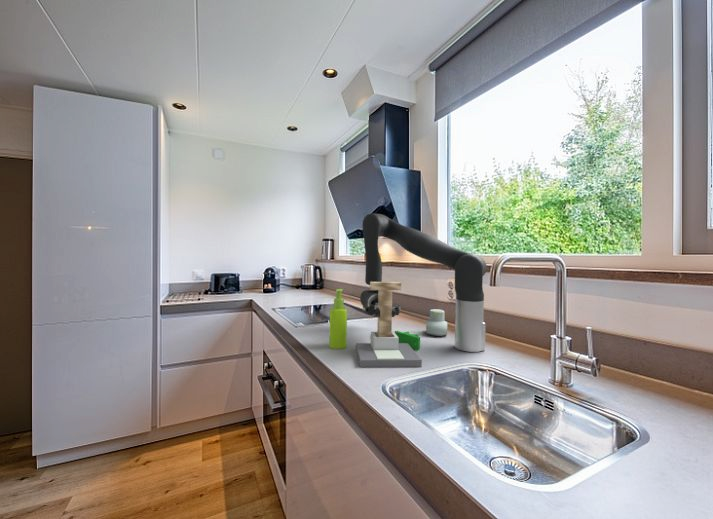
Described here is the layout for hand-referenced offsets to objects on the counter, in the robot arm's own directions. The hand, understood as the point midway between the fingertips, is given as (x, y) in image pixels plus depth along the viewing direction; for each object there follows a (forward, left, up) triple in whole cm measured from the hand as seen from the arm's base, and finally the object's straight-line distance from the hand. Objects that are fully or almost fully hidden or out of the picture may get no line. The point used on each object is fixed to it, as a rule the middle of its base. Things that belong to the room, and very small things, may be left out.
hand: (386, 313), depth 101 cm
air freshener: (-26, -26, -14) cm, 39 cm away
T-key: (0, -3, -11) cm, 12 cm away
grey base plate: (0, +2, -13) cm, 14 cm away
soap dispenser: (+15, -10, -14) cm, 23 cm away
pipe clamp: (-10, -11, -14) cm, 20 cm away
